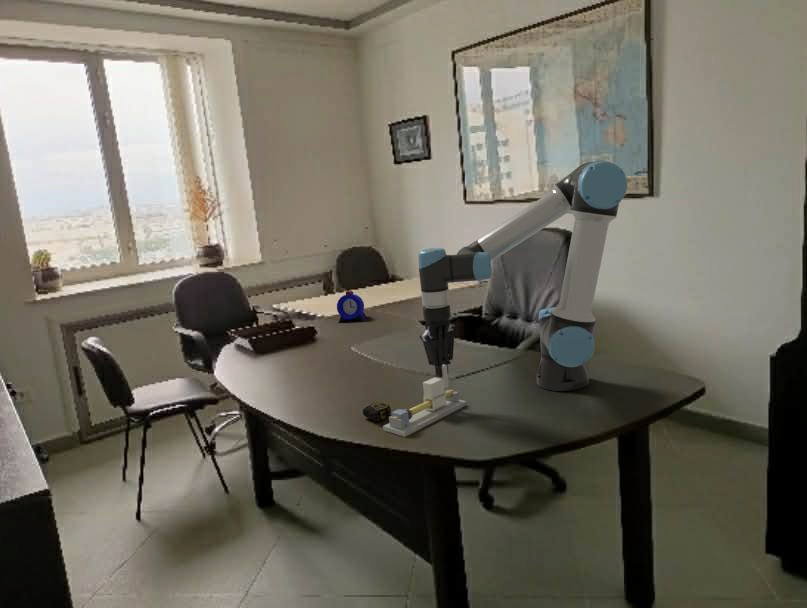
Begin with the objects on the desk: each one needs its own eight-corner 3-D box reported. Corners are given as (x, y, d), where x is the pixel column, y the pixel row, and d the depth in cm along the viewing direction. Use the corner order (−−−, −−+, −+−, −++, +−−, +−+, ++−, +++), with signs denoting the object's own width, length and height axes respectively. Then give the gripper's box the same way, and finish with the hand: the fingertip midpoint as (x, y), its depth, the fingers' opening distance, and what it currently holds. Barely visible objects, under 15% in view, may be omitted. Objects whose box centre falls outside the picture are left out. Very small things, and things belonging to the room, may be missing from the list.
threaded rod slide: (445, 400, 179) (443, 383, 178) (466, 405, 173) (464, 388, 172) (383, 430, 162) (381, 412, 161) (404, 436, 156) (402, 418, 155)
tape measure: (362, 419, 172) (361, 406, 171) (383, 411, 175) (381, 399, 175) (375, 425, 166) (373, 412, 165) (396, 418, 170) (394, 405, 169)
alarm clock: (337, 323, 296) (333, 293, 293) (344, 317, 307) (340, 288, 304) (362, 321, 293) (358, 291, 290) (367, 315, 305) (364, 286, 302)
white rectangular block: (436, 403, 173) (433, 377, 172) (446, 405, 170) (444, 379, 169) (424, 409, 170) (421, 382, 168) (434, 411, 167) (431, 384, 165)
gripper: (441, 299, 175) (448, 378, 179) (409, 309, 166) (417, 391, 170) (461, 301, 169) (468, 382, 174) (430, 311, 160) (437, 396, 165)
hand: (443, 386), depth 172 cm, fingers closed
